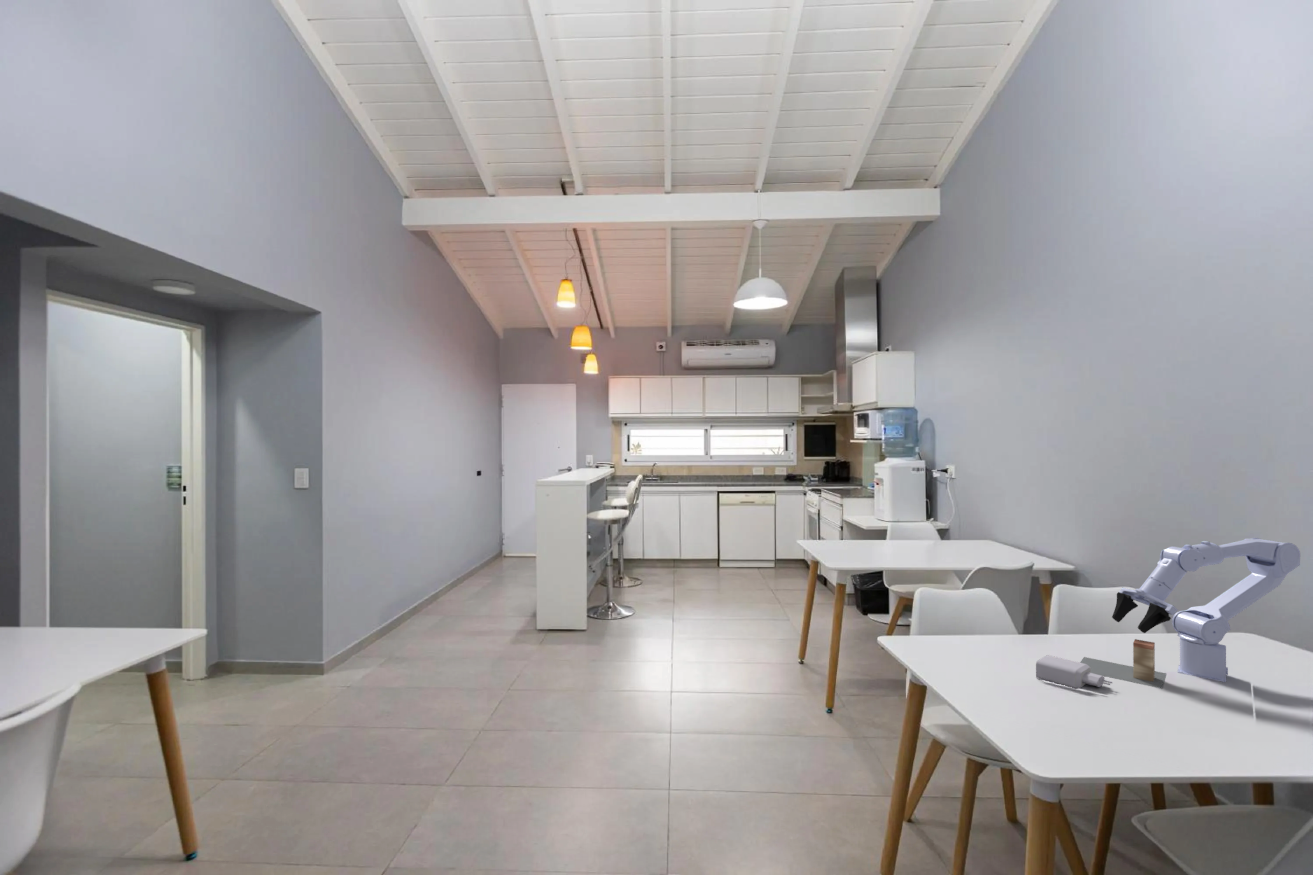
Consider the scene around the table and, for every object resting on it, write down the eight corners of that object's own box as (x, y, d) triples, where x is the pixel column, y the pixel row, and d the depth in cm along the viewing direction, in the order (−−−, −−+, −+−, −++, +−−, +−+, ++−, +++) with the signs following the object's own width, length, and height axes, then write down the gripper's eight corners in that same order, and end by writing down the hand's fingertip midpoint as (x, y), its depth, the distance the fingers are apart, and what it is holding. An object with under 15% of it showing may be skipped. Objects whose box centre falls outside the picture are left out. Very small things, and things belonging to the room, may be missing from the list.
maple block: (1154, 677, 158) (1154, 642, 158) (1153, 681, 155) (1153, 646, 156) (1135, 673, 161) (1135, 639, 161) (1133, 677, 158) (1133, 642, 158)
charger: (1105, 698, 147) (1035, 679, 158) (1117, 689, 152) (1049, 671, 164) (1105, 678, 147) (1035, 660, 158) (1117, 669, 152) (1049, 653, 164)
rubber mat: (1166, 675, 161) (1166, 673, 161) (1162, 690, 151) (1162, 688, 151) (1084, 658, 174) (1084, 656, 174) (1074, 671, 163) (1074, 669, 163)
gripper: (1125, 568, 169) (1094, 606, 169) (1176, 584, 155) (1143, 626, 154) (1141, 583, 170) (1111, 621, 170) (1193, 601, 156) (1161, 642, 155)
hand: (1127, 625), depth 162 cm, fingers open, 7 cm apart
